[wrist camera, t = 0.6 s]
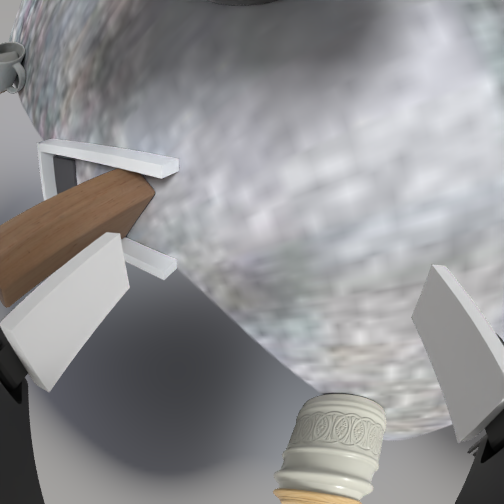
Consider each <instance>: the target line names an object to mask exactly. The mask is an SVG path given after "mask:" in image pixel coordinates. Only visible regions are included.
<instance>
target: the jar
mask: <svg viewBox="0 0 504 504" xmlns="http://www.w3.org/2000/svg"><path fill="white" fill-rule="evenodd" d="M385 430H386V414H385V411H384V409H383V408H382V407H381V406H380V405H379V404H377V403H376V402H374V401H372V400H370V399H367V398H364V397H360V396H356V395H349V394H327V395H321V396H317V397H314V398H312V399H310V400H308V401H307V402H306V403H305V404H304V405H303V408H302V409H301V410H300V412H299V414H298V417H297V419H296V425H295V428H294V430H293V433H292V436H291V439H290V441H289V443H288V446H287V448H286V450H285V451H284V452H283V454H282V457H283V459H284V462H283V465H282V467H281V470H279V471H277V472H275V473H274V478H275V480H276V481H277V482H278V483H279V489H275V490H274V491H273V493H274V494H275V495H276V496H277V497H278V498H279V499H280V501H281V503H282V504H362V503H361V502H360V500H361V499H362V497H364V496H366V495H368V494H370V493H371V492H372V491H373V489H374V488H373V486H372V484H371V480H372V477H373V474H374V473H375V472H376V471H377V470H378V468H379V464H378V461H379V457H380V452H381V446H382V441H383V435H384V433H385Z"/></svg>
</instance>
